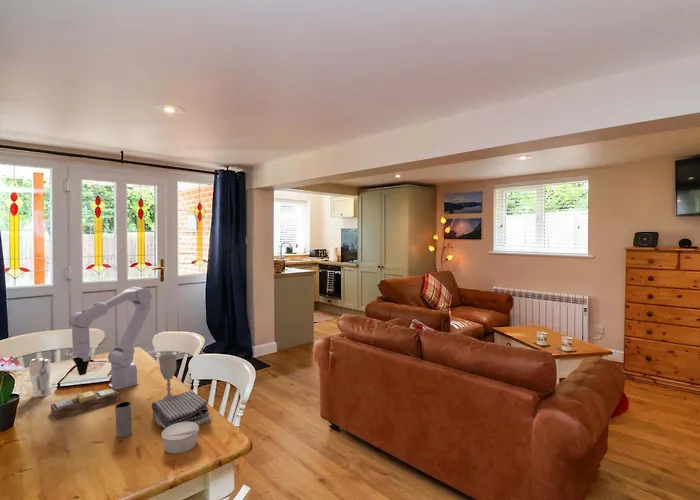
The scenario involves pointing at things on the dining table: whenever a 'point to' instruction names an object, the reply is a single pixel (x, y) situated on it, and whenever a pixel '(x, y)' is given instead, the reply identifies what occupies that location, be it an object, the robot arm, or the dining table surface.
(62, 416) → the brown tile tray
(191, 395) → the towel
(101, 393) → the one pip tile
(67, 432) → the dining table surface
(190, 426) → the ramekin
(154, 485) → the dining table surface
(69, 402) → the three pip tile
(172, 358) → the chalice
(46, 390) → the beer glass
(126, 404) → the grey cylinder
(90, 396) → the two pip tile
